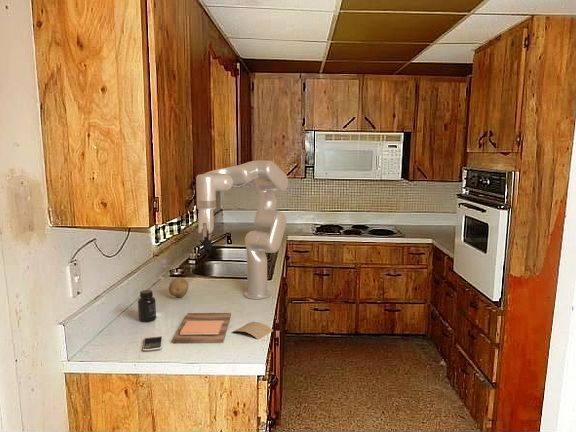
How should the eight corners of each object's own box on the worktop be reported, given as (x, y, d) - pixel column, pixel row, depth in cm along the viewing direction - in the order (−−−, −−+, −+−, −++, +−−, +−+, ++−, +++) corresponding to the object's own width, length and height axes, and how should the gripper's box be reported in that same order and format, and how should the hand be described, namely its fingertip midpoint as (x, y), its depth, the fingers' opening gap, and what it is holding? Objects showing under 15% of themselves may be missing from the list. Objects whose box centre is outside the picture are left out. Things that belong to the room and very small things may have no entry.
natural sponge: (178, 303, 197) (177, 282, 196) (164, 299, 202) (164, 278, 201) (192, 297, 205) (192, 277, 203) (179, 294, 210) (179, 274, 208)
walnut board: (188, 316, 181) (187, 313, 181) (230, 316, 181) (230, 312, 181) (173, 343, 155) (173, 339, 155) (223, 343, 156) (223, 339, 155)
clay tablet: (275, 332, 166) (274, 325, 166) (260, 342, 158) (260, 335, 157) (244, 325, 174) (244, 318, 173) (229, 334, 165) (229, 327, 164)
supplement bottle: (155, 315, 182) (154, 288, 180) (156, 321, 175) (155, 293, 174) (138, 317, 179) (137, 289, 178) (138, 323, 173) (137, 295, 171)
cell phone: (142, 353, 148) (142, 350, 148) (145, 340, 159) (144, 336, 158) (161, 352, 149) (161, 348, 149) (162, 338, 160) (162, 335, 160)
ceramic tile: (179, 331, 157) (179, 334, 157) (219, 331, 158) (219, 334, 158) (187, 320, 170) (187, 322, 170) (223, 320, 170) (223, 322, 171)
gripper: (200, 202, 181) (201, 245, 183) (193, 207, 166) (194, 253, 168) (218, 202, 181) (219, 245, 183) (212, 207, 166) (214, 253, 169)
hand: (207, 249), depth 176 cm, fingers closed
